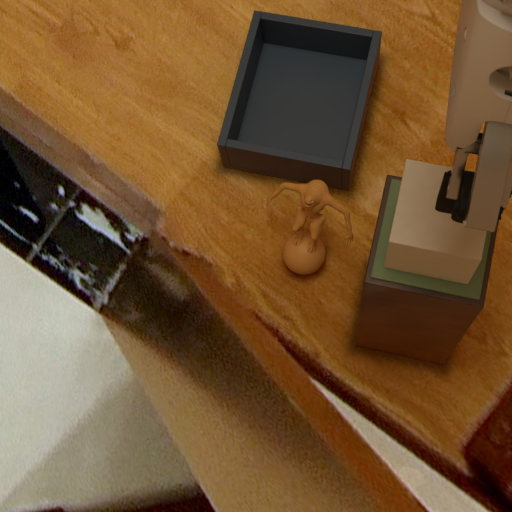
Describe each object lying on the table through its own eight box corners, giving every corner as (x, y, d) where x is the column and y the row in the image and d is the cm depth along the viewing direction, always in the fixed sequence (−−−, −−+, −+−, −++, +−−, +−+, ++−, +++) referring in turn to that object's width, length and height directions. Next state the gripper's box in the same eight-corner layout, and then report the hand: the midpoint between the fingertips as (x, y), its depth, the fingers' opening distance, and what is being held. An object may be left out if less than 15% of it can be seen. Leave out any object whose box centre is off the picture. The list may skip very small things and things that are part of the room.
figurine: (256, 259, 82) (243, 216, 70) (284, 205, 83) (276, 155, 72) (335, 296, 80) (335, 258, 69) (362, 240, 81) (367, 194, 70)
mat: (496, 200, 58) (497, 198, 58) (478, 300, 56) (479, 299, 56) (391, 180, 59) (391, 178, 59) (370, 278, 58) (370, 276, 57)
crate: (379, 59, 87) (382, 30, 82) (349, 191, 83) (350, 170, 78) (258, 38, 89) (254, 9, 84) (223, 167, 85) (216, 144, 80)
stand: (458, 281, 79) (503, 196, 58) (443, 365, 77) (483, 307, 56) (373, 264, 81) (387, 173, 60) (355, 346, 78) (363, 282, 57)
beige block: (481, 206, 58) (496, 175, 53) (467, 285, 56) (481, 260, 51) (399, 191, 59) (406, 158, 54) (383, 267, 57) (388, 241, 52)
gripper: (651, 153, 26) (531, 296, 42) (698, -284, 31) (574, -4, 47) (404, 113, 27) (379, 267, 43) (486, -303, 32) (436, -23, 48)
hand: (480, 126), depth 45 cm, fingers open, 9 cm apart
